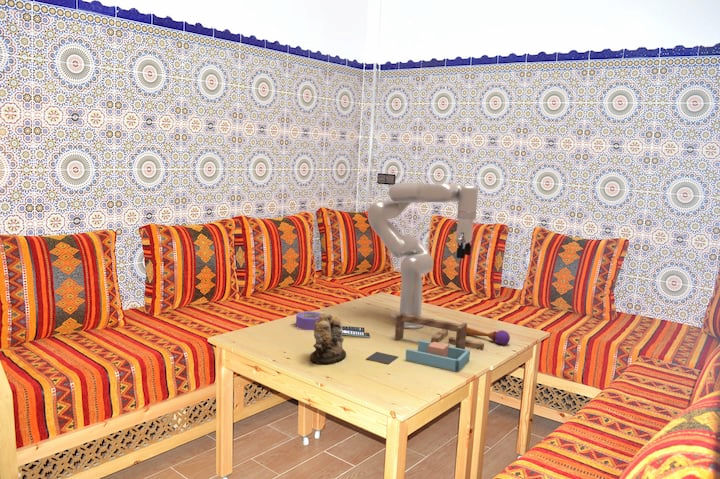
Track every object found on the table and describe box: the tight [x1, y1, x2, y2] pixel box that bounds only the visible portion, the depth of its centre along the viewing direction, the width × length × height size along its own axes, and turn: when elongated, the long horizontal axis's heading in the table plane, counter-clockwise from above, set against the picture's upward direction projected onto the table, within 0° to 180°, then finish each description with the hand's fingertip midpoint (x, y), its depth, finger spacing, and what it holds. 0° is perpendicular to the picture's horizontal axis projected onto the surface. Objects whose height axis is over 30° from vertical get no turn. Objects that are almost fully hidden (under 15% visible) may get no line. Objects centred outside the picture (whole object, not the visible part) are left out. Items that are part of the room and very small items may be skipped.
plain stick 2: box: [448, 336, 485, 351], centre depth 233 cm, size 14×2×2 cm, turn 63°
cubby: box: [405, 339, 471, 373], centre depth 214 cm, size 20×13×4 cm, turn 63°
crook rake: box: [394, 312, 468, 350], centre depth 231 cm, size 28×8×10 cm, turn 63°
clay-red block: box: [428, 342, 449, 357], centre depth 214 cm, size 6×6×6 cm
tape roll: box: [295, 311, 322, 331], centre depth 249 cm, size 12×12×5 cm
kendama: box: [466, 327, 511, 346], centre depth 242 cm, size 6×6×20 cm
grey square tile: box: [365, 351, 399, 365], centre depth 214 cm, size 9×9×1 cm
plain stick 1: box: [430, 329, 449, 343], centre depth 240 cm, size 14×2×2 cm, turn 153°
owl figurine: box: [309, 312, 347, 366], centre depth 210 cm, size 18×12×17 cm, turn 157°
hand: (463, 256), depth 239 cm, fingers open, 9 cm apart
